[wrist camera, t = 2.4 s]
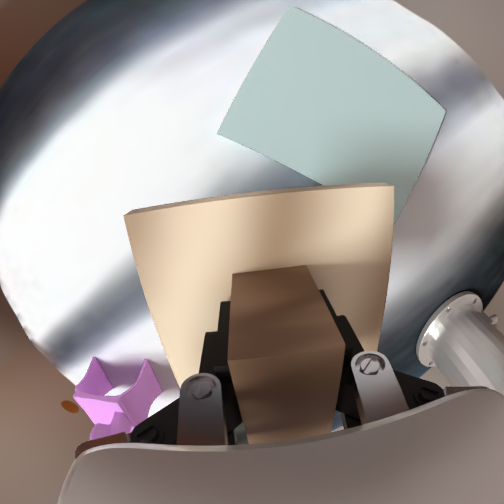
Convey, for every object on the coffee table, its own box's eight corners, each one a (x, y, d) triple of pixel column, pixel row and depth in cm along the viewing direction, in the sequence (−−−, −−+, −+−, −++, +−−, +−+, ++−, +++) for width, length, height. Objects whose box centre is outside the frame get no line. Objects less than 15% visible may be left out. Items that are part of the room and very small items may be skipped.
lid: (383, 182, 11) (478, 218, 5) (364, 366, 15) (399, 442, 9) (132, 209, 11) (51, 267, 5) (187, 388, 15) (174, 472, 9)
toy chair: (87, 350, 29) (39, 438, 15) (144, 352, 29) (107, 459, 15) (111, 392, 32) (80, 474, 18) (165, 395, 32) (144, 491, 18)
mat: (442, 111, 20) (445, 110, 19) (389, 225, 24) (392, 227, 24) (289, 8, 16) (290, 5, 16) (217, 133, 21) (216, 133, 20)
